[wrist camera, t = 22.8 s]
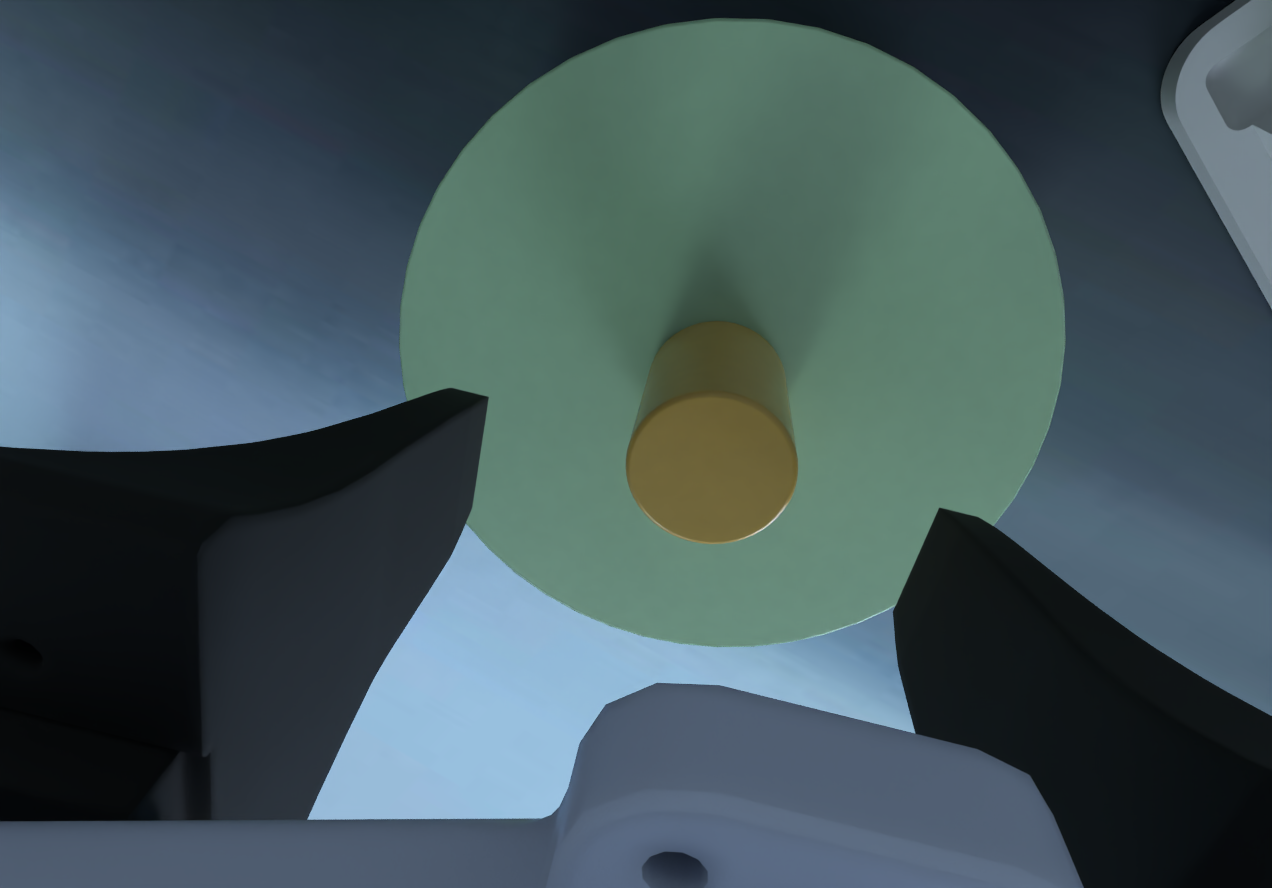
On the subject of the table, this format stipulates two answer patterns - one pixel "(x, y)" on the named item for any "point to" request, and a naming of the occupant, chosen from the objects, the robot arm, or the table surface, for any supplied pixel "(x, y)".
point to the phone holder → (1229, 123)
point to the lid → (735, 327)
